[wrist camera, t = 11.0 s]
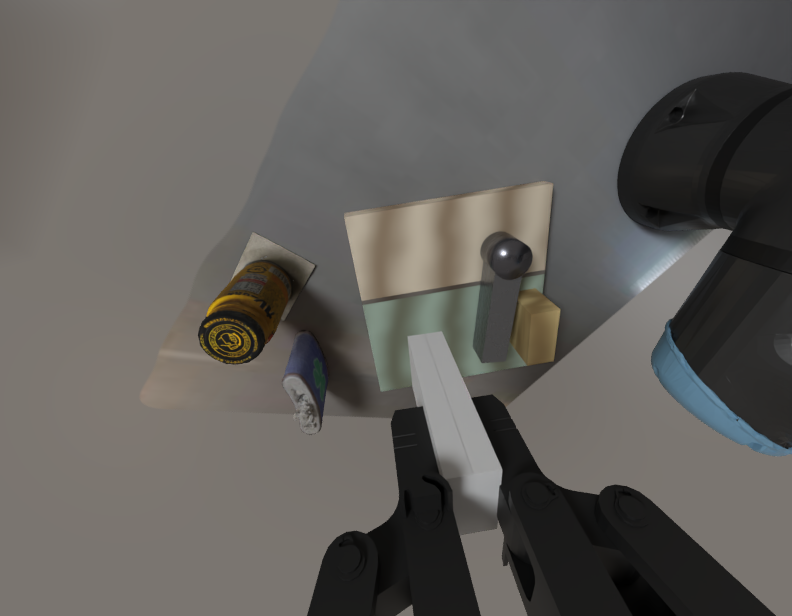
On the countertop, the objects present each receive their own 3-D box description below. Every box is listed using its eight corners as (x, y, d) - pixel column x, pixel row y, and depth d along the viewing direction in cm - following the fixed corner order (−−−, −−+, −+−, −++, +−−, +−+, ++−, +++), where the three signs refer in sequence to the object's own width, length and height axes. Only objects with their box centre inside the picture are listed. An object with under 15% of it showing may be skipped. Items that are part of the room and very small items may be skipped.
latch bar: (482, 231, 35) (496, 242, 31) (518, 230, 35) (536, 241, 32) (468, 346, 42) (479, 366, 38) (498, 344, 42) (511, 363, 39)
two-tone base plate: (543, 181, 35) (586, 191, 29) (529, 355, 47) (557, 391, 40) (344, 213, 35) (342, 231, 28) (379, 381, 46) (383, 422, 40)
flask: (292, 331, 41) (273, 390, 31) (315, 327, 41) (303, 384, 32) (312, 385, 45) (302, 451, 36) (333, 381, 45) (328, 446, 36)
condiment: (225, 293, 38) (174, 354, 27) (253, 231, 35) (208, 273, 24) (284, 319, 40) (259, 385, 29) (315, 264, 37) (299, 315, 27)
